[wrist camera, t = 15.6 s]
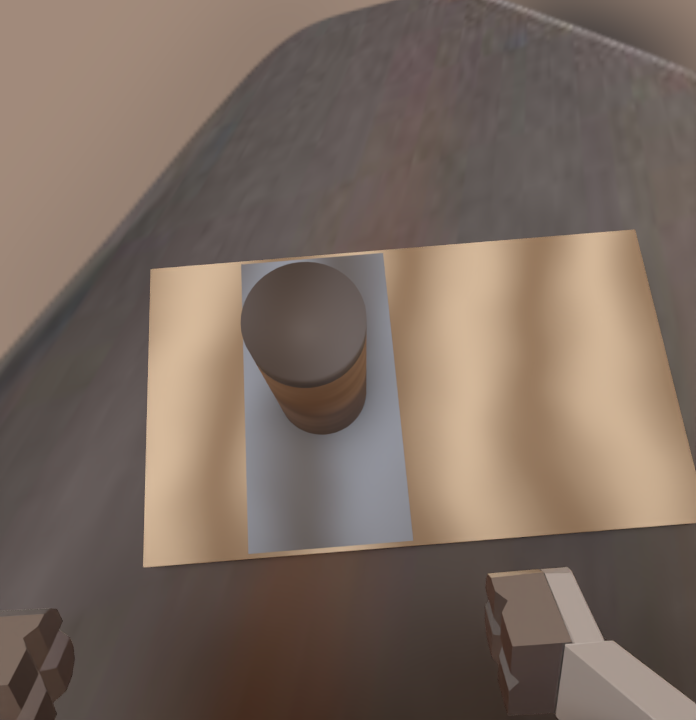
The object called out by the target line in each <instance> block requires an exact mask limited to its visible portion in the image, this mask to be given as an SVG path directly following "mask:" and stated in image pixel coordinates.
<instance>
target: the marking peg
mask: <svg viewBox="0 0 696 720" xmlns="http://www.w3.org/2000/svg"><path fill="white" fill-rule="evenodd" d="M241 333H242V337H243V340H244V343H245V345H246V347H247V349H248V351H249V353H250V354H251V356H252V358H253V360H254V361H255V363H256V365H257V366H258V368H259V370H260V372H261V373H262V375H263V377H264V379H265V380H266V382H267V384H268V386H269V387H270V389H271V391H272V393H273V394H274V396H275V398H276V400H277V401H278V403H279V405H280V407H281V408H282V410H283V412H284V413H285V415H286V417H287V418H288V419H289V421H290V422H292V423H293V424H294V425H295V426H296V427H298V428H299V429H301V430H303V431H305V432H308V433H312V434H318V435H326V434H332V433H336V432H338V431H341V430H343V429H345V428H346V427H348V426H349V425H350V424H352V423H353V422H354V421H355V420H356V418H357V417H358V416H359V414H360V413H361V411H362V409H363V406H364V404H365V400H366V341H367V318H366V308H365V304H364V301H363V298H362V296H361V294H360V292H359V290H358V289H357V287H356V286H355V284H354V283H353V282H352V281H351V280H350V279H349V278H348V277H347V276H346V275H344V274H343V273H341V272H340V271H338V270H336V269H334V268H332V267H330V266H327V265H325V264H320V263H316V262H296V263H291V264H287V265H284V266H281V267H278V268H276V269H274V270H273V271H271V272H269V273H268V274H266V275H265V276H263V277H262V278H261V279H260V280H259V281H258V282H257V283H256V284H255V285H254V287H253V288H252V289H251V291H250V292H249V294H248V296H247V298H246V300H245V302H244V305H243V308H242V313H241Z"/></svg>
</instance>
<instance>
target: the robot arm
mask: <svg viewBox="0 0 696 720" xmlns="http://www.w3.org/2000/svg"><path fill="white" fill-rule="evenodd" d="M486 592H487V596H488V599H489V601H488V602H487V603H486V605H485V626H486V635H487V640H488V645H489V649H490V653H491V657H492V659H494V660H495V661H496V662H497V663H498V664H499V667H498V683H499V686H500V690H501V693H502V697H503V701H504V704H505V708H506V711H507V715H530V714H551V713H556V717H557V718H558V719H559V720H696V703H694V702H693V701H692V700H690V699H689V698H688V697H686V696H685V695H684V694H683V693H681V692H680V691H679V690H677V689H676V688H675V687H673V686H672V685H671V684H669V683H668V682H667V681H665V680H664V679H663V678H661V677H660V676H659V675H658V674H656V673H655V672H654V671H652V670H651V669H650V668H648V667H647V666H646V665H644V664H643V663H642V662H640V661H639V660H638V659H637V658H635V657H634V656H633V655H631V654H630V653H629V652H627V651H626V650H625V649H623V648H622V647H621V646H619V645H618V644H617V643H615V642H614V641H604V638H603V636H602V634H601V632H600V630H599V628H598V626H597V624H596V622H595V619H594V617H593V615H592V613H591V611H590V609H589V607H588V605H587V603H586V601H585V598H584V596H583V594H582V592H581V590H580V588H579V586H578V584H577V582H576V579H575V577H574V575H573V573H572V571H571V570H570V569H569V568H568V567H562V568H550V569H541V570H539V569H535V570H523V571H512V572H501V573H490V574H487V577H486ZM62 622H63V620H62V618H61V616H60V614H59V612H58V610H57V609H53V608H46V609H26V610H6V611H0V720H55V718H56V715H57V712H56V709H55V706H54V702H55V701H56V700H57V699H58V698H59V697H60V696H61V695H62V694H63V693H64V692H65V691H66V690H67V688H68V685H69V683H70V680H71V678H72V675H73V668H74V661H75V655H74V647H73V644H72V641H71V639H70V637H69V636H67V635H66V634H64V633H63V632H61V631H60V630H59V629H60V627H61V624H62Z"/></svg>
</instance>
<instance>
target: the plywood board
mask: <svg viewBox="0 0 696 720" xmlns="http://www.w3.org/2000/svg"><path fill="white" fill-rule="evenodd" d="M296 262H316V263H320V264H325V265H327V266H330V267H332V268H334V269H336V270H338V271H340V272H341V273H343V274H344V275H346V276H347V277H348V278H349V279H350V280H351V281H352V282H353V283H354V284H355V286H356V287H357V289H358V290H359V292H360V294H361V296H362V298H363V301H364V304H365V308H366V318H367V341H366V400H365V404H364V406H363V409H362V411H361V413H360V414H359V416H358V417H357V418H356V420H355V421H354V422H353V423H352V424H350V425H349V426H348V427H346V428H345V429H343V430H341V431H338V432H336V433H332V434H326V435H318V434H312V433H308V432H305V431H303V430H301V429H299V428H298V427H296V426H295V425H294V424H293V423H292V422H290V421H289V419H288V418H287V417H286V415H285V413H284V412H283V410H282V408H281V407H280V405H279V403H278V401H277V400H276V398H275V396H274V394H273V393H272V391H271V389H270V387H269V386H268V384H267V382H266V380H265V379H264V377H263V375H262V373H261V372H260V370H259V368H258V366H257V365H256V363H255V361H254V360H253V358H252V356H251V354H250V353H249V351H248V349H247V347H246V345H245V343H244V340H243V337H242V333H241V313H242V308H243V305H244V302H245V300H246V298H247V296H248V294H249V292H250V291H251V289H252V288H253V287H254V285H255V284H256V283H257V282H258V281H259V280H260V279H261V278H262V277H263V276H265V275H266V274H268V273H269V272H271V271H273V270H274V269H276V268H278V267H281V266H284V265H287V264H291V263H296ZM690 523H696V471H695V467H694V463H693V460H692V456H691V452H690V448H689V444H688V440H687V436H686V432H685V428H684V424H683V420H682V416H681V412H680V408H679V404H678V400H677V396H676V392H675V388H674V384H673V380H672V376H671V372H670V368H669V364H668V360H667V356H666V352H665V348H664V344H663V340H662V336H661V332H660V328H659V324H658V320H657V316H656V312H655V308H654V304H653V300H652V296H651V292H650V288H649V284H648V280H647V276H646V272H645V268H644V264H643V260H642V256H641V252H640V248H639V244H638V240H637V236H636V232H635V230H624V231H612V232H599V233H587V234H575V235H563V236H551V237H538V238H526V239H514V240H502V241H489V242H477V243H465V244H453V245H441V246H428V247H416V248H404V249H392V250H379V251H367V252H355V253H343V254H331V255H318V256H306V257H294V258H282V259H269V260H257V261H245V262H233V263H221V264H208V265H196V266H184V267H172V268H159V269H151V280H150V319H149V359H148V398H147V438H146V478H145V517H144V557H143V567H158V566H170V565H182V564H195V563H207V562H220V561H232V560H244V559H257V558H269V557H282V556H294V555H306V554H319V553H331V552H343V551H356V550H368V549H381V548H393V547H405V546H418V545H430V544H443V543H455V542H467V541H480V540H492V539H505V538H517V537H529V536H542V535H554V534H567V533H579V532H591V531H604V530H616V529H629V528H641V527H653V526H666V525H678V524H690Z"/></svg>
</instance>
